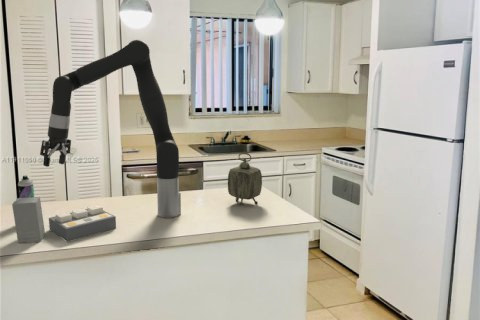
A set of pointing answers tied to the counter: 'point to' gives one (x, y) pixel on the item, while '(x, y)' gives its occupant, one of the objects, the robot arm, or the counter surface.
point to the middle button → (79, 213)
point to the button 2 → (95, 210)
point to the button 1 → (63, 217)
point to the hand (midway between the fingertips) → (54, 165)
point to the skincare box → (28, 219)
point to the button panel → (83, 226)
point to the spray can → (26, 188)
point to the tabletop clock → (244, 181)
